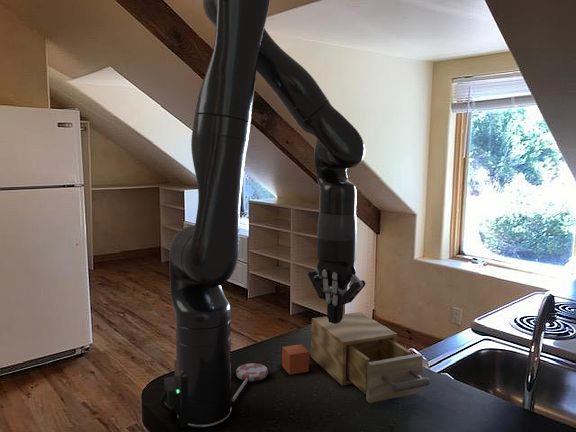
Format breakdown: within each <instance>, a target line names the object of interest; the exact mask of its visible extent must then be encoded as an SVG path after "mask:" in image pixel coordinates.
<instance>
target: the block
mask: <svg viewBox="0 0 576 432" xmlns="http://www.w3.org/2000/svg"><path fill="white" fill-rule="evenodd" d="M281 352H282V353H281V367H282V368H283V369H284V371H286V373H287V374H288V376H289V375H291V376H292V375H297V374H302V373H308V372H309V371H310V351H309V350H308V349H307V348H306V347H304V346H303V344H301V343H300V344H293V345H287V346H286V345H285V346H282V347H281Z"/></svg>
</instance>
